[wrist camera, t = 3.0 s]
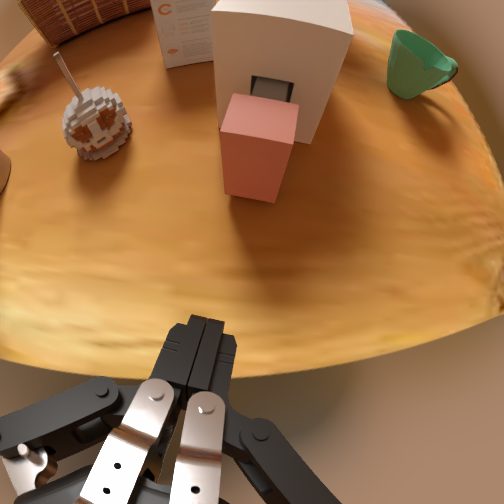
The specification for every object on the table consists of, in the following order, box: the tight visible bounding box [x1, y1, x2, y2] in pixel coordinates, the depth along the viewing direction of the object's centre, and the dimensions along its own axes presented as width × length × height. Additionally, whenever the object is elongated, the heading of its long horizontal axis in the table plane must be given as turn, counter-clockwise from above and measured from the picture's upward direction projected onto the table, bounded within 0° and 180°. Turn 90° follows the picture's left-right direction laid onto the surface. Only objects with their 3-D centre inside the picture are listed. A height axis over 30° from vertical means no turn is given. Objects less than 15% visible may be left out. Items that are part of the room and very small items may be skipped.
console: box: [211, 0, 354, 145], centre depth 24 cm, size 11×15×16 cm
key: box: [220, 76, 299, 203], centre depth 24 cm, size 5×14×10 cm, turn 169°
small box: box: [150, 0, 216, 69], centre depth 28 cm, size 8×6×13 cm
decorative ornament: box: [53, 51, 132, 161], centre depth 22 cm, size 8×8×15 cm
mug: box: [387, 30, 458, 100], centre depth 30 cm, size 15×10×10 cm
